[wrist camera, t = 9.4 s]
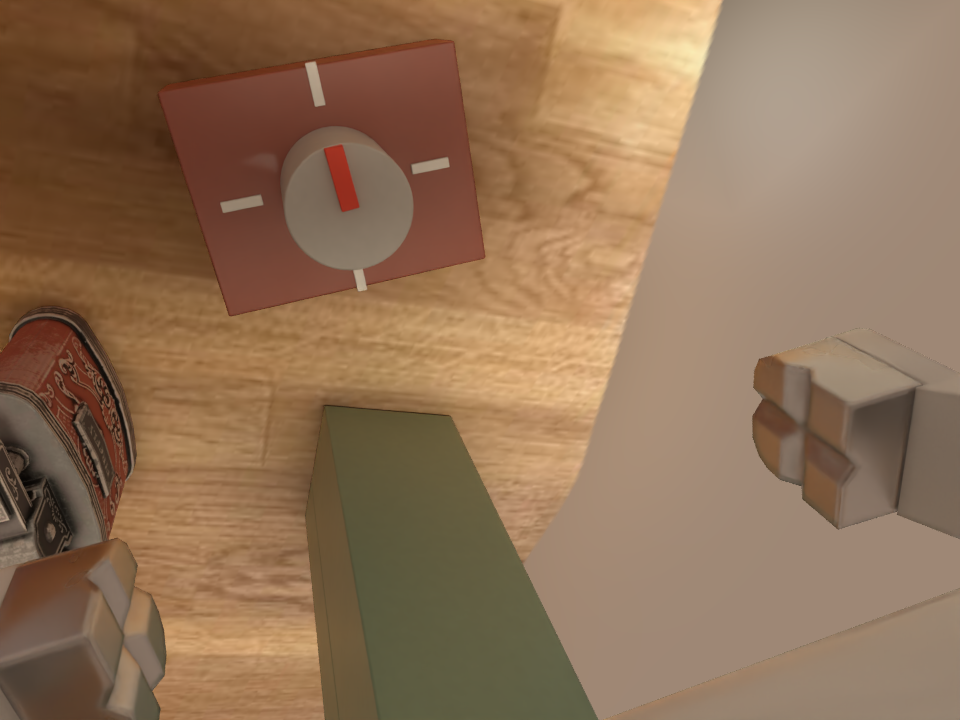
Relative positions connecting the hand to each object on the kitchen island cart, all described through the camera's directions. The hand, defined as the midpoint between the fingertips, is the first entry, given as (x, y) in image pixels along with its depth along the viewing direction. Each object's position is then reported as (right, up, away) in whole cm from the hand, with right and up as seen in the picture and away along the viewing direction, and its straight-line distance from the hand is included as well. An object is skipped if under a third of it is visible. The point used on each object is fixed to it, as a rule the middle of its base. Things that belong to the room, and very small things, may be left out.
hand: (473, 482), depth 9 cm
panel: (-6, +9, +20) cm, 23 cm away
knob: (-5, +8, +17) cm, 19 cm away
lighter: (-16, 0, +21) cm, 27 cm away
